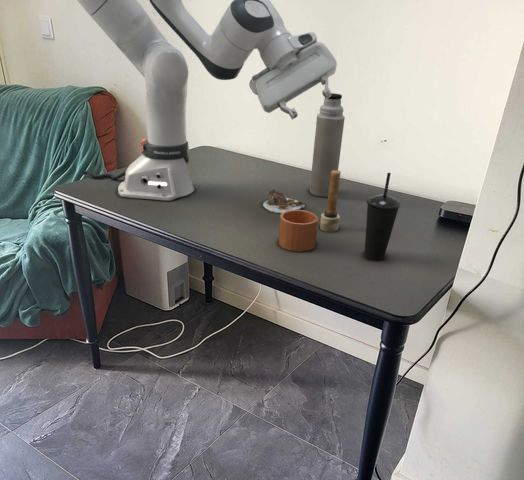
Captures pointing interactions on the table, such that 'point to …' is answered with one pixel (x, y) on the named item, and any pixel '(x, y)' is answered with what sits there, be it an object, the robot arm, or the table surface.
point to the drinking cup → (380, 223)
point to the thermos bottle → (327, 144)
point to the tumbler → (298, 230)
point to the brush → (331, 205)
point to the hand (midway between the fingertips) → (311, 106)
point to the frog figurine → (281, 203)
